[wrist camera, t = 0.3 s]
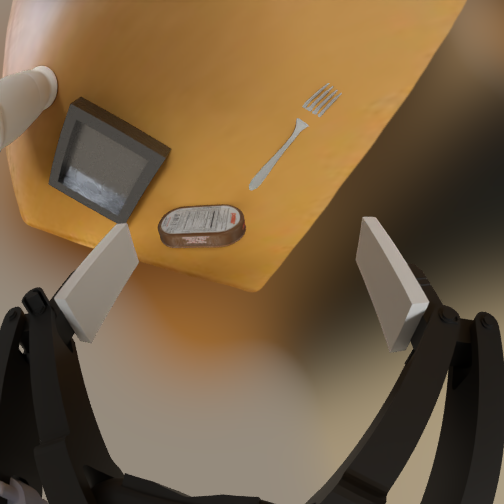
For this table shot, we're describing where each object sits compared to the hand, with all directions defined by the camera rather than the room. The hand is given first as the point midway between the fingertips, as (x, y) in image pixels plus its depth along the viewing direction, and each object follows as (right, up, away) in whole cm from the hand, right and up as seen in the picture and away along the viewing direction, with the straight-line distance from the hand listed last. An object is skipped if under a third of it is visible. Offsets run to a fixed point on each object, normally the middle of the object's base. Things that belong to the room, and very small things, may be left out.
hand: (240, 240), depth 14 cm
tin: (-8, +7, +33) cm, 35 cm away
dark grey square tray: (-25, +15, +25) cm, 38 cm away
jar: (-34, +26, +12) cm, 44 cm away
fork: (+5, +15, +24) cm, 29 cm away
